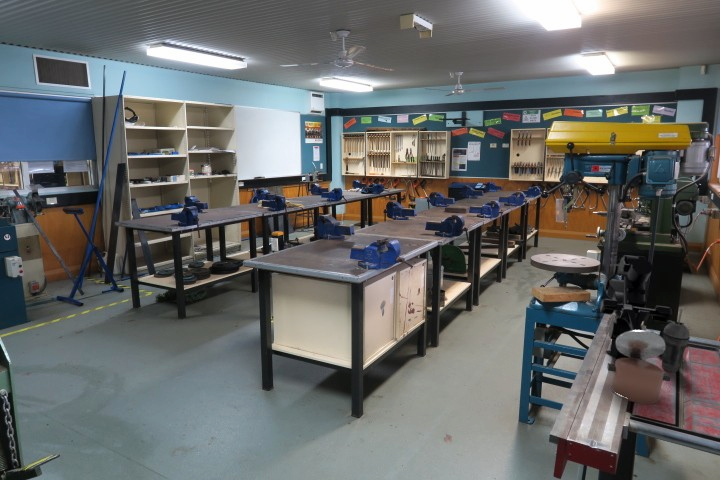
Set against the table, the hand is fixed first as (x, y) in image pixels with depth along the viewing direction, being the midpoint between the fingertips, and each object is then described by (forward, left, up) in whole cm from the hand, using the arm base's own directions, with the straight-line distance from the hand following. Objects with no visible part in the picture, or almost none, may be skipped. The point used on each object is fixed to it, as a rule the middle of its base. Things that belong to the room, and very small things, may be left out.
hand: (635, 335), depth 144 cm
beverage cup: (+18, +1, -14) cm, 23 cm away
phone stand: (+27, +10, -14) cm, 32 cm away
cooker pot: (-6, -9, -14) cm, 17 cm away
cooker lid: (-5, -6, 0) cm, 8 cm away
